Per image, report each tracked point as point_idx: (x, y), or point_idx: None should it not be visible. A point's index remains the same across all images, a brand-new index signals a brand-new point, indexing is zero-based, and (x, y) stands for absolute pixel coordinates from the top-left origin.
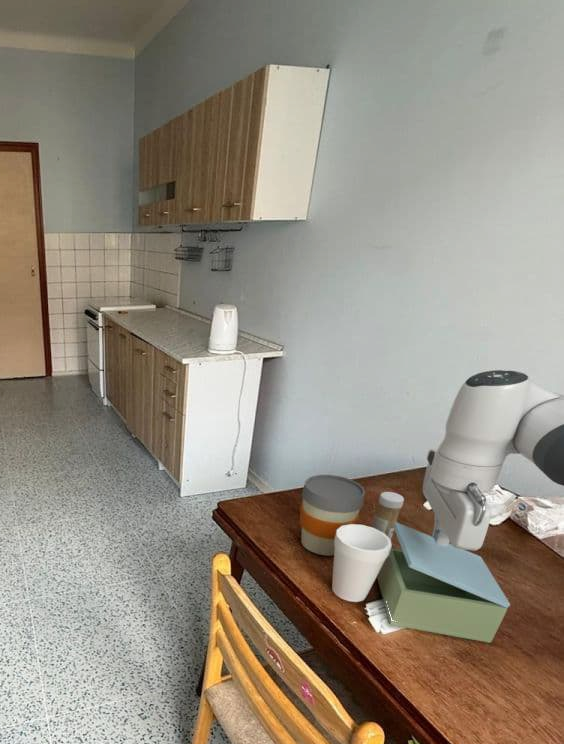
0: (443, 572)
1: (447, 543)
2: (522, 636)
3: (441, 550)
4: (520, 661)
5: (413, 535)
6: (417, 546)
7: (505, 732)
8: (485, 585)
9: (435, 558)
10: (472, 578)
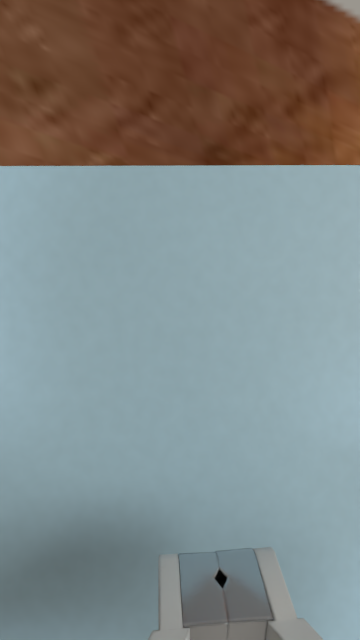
0: (355, 475)
1: (279, 570)
2: (241, 66)
3: (119, 428)
4: (352, 123)
5: (81, 578)
6: None
7: None
8: (304, 253)
9: (242, 488)
10: (289, 313)
